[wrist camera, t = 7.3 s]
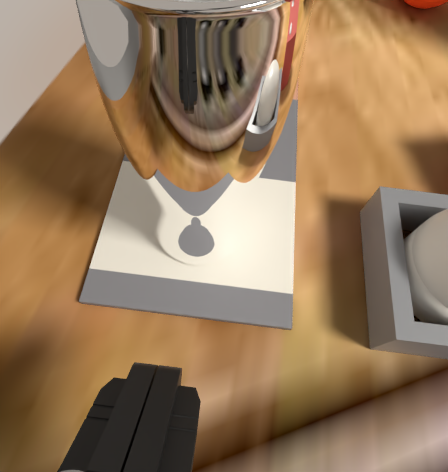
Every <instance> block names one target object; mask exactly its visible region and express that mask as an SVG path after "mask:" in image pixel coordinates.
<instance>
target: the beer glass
mask: <svg viewBox="0 0 448 472" xmlns="http://www.w3.org/2000/svg"><path fill="white" fill-rule="evenodd" d="M313 2H314V0H76V3H77V8H78V13H79V17H80V21H81V26H82V30H83V34H84V38H85V43H86V47H87V51H88V55H89V59H90V63H91V66H92V69H93V73H94V76H95V80H96V83H97V87H98V90H99V93H100V97H101V99H102V102H103V105H104V107H105V110H106V113H107V115H108V118H109V121H110V123H111V126H112V129H113V131H114V133H115V135H116V137H117V139H118V141H119V143H120V145H121V146H122V148H123V150H124V152H125V154H126V156H127V158H128V160H129V161H130V163H131V165H132V166H133V168H134V170H135V171H136V173H137V175H138V176H139V178H140V180H141V181H142V183H143V184H144V186H145V188H146V189H147V191H148V193H149V195H150V196H151V199H152V201H153V206H154V207H153V215H152V228H153V233H154V236H155V239H156V241H157V242H158V244H159V245H160V247H161V248H162V249H163V250H164V251H165V252H166V253H167V254H168V255H170V256H171V257H172V258H174V259H176V260H178V261H180V262H183V263H186V264H191V265H210V264H214V263H218V262H220V261H223V260H225V259H226V258H228V257H230V256H231V255H232V254H234V253H235V252H236V251H237V250H238V249H239V247H240V246H241V245H242V243H243V241H244V240H245V238H246V235H247V232H248V227H249V213H248V205H247V200H248V197H249V195H250V193H251V191H252V189H253V187H254V185H255V183H256V182H257V180H258V178H259V176H260V175H261V173H262V171H263V169H264V167H265V165H266V164H267V162H268V160H269V158H270V156H271V154H272V152H273V150H274V148H275V145H276V143H277V141H278V139H279V137H280V135H281V132H282V130H283V127H284V124H285V121H286V118H287V115H288V112H289V109H290V106H291V103H292V100H293V97H294V93H295V89H296V85H297V81H298V77H299V72H300V68H301V64H302V59H303V54H304V49H305V44H306V39H307V34H308V29H309V24H310V18H311V13H312V7H313Z"/></svg>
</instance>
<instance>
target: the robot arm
mask: <svg viewBox="0 0 448 472" xmlns="http://www.w3.org/2000/svg"><path fill="white" fill-rule="evenodd" d="M181 376H182V368H177V367H169V366H161V365H159V366H158V365H152V364H144V363H136V362H135V363H134V364H133V366H132V368H131V370H130V372H129V375H128V377H127V379H120V378H113V379H112V380H111V381H110V382H108V383H107V384H106V385H105V386H104V387H103V388H102V389H101V390H100V392H99V393H98V395H97V397H96V399H95V401H94V403H93V406H92V407H91V409H90V411H89V413H88V415H87V418H86V419H85V420H84V422H83V424H82V426H81V428H80V430H79V432H78V434H77V436H76V438H75V440H74V441H73V443H72V445H71V447H70V449H69V451H68V453H67V455H66V457H65V459H64V461H63V463H62V464H61V466H60V468H59V470H58V471H57V472H192V465H193V458H194V451H195V443H196V435H197V427H198V418H199V410H200V399H199V396H198V393H197V390H196V388H193V387H185V386H181Z"/></svg>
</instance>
